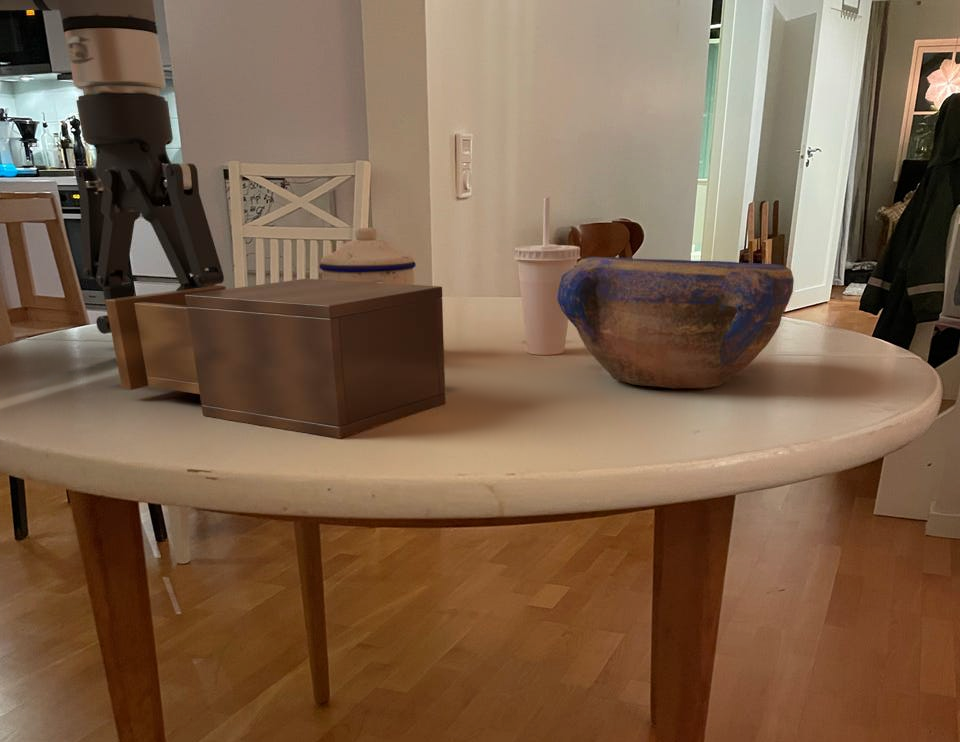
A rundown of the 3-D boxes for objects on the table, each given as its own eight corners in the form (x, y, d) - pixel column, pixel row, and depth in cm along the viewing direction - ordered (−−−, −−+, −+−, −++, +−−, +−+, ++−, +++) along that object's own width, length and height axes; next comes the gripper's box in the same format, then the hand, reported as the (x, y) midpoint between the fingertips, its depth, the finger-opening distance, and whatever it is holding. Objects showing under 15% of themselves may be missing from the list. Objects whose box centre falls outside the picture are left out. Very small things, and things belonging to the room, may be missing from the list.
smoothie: (505, 355, 91) (505, 198, 84) (524, 345, 96) (525, 196, 90) (568, 358, 89) (573, 197, 82) (584, 347, 94) (589, 196, 88)
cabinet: (202, 415, 69) (184, 294, 65) (315, 385, 79) (305, 278, 75) (340, 438, 62) (329, 305, 59) (445, 403, 72) (442, 286, 68)
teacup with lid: (320, 352, 94) (309, 227, 88) (406, 346, 96) (401, 224, 91) (341, 373, 83) (330, 233, 78) (437, 366, 86) (433, 230, 81)
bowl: (794, 368, 83) (811, 248, 78) (760, 410, 68) (778, 266, 64) (604, 355, 90) (609, 244, 85) (536, 391, 75) (538, 260, 71)
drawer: (78, 382, 77) (60, 295, 74) (185, 360, 85) (173, 282, 82) (230, 405, 68) (217, 309, 65) (332, 379, 76) (325, 292, 73)
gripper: (5, 98, 82) (61, 356, 92) (173, 82, 71) (215, 377, 81) (78, 102, 87) (123, 345, 98) (244, 88, 77) (275, 364, 87)
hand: (165, 360), depth 89 cm, fingers open, 9 cm apart
